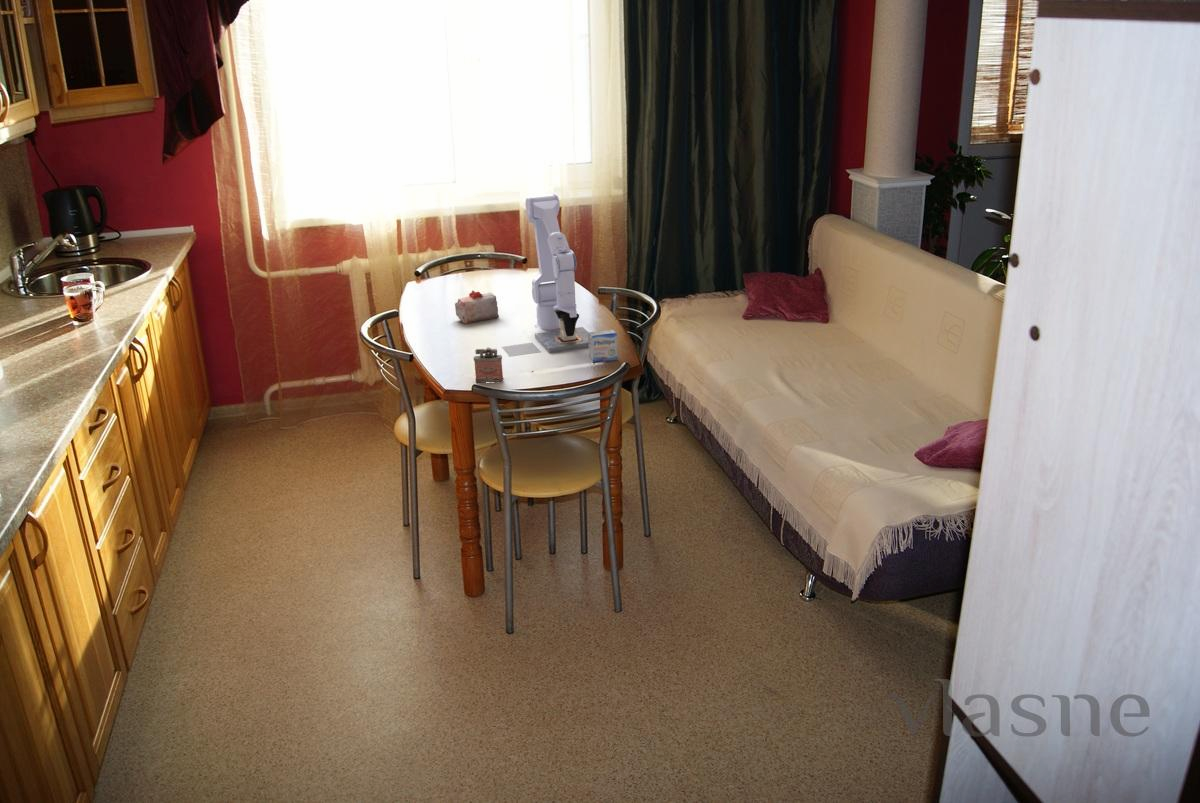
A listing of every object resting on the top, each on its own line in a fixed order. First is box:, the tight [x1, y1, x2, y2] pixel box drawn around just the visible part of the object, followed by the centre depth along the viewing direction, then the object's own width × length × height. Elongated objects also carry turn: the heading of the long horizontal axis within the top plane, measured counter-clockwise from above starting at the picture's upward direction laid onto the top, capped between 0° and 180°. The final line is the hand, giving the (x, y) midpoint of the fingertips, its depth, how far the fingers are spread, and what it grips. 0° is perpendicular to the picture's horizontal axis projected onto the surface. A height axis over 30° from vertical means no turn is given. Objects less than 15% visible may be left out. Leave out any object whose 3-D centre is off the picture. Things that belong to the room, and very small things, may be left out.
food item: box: [454, 290, 500, 325], centre depth 346 cm, size 14×8×10 cm, turn 119°
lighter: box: [473, 347, 505, 385], centre depth 289 cm, size 8×3×10 cm, turn 92°
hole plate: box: [534, 326, 589, 354], centre depth 318 cm, size 16×16×3 cm
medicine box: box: [588, 329, 618, 364], centre depth 303 cm, size 8×4×9 cm, turn 105°
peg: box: [558, 318, 576, 342], centre depth 315 cm, size 4×4×6 cm
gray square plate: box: [501, 342, 542, 357], centre depth 313 cm, size 10×10×1 cm
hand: (567, 333), depth 315 cm, fingers closed on peg, 4 cm apart
